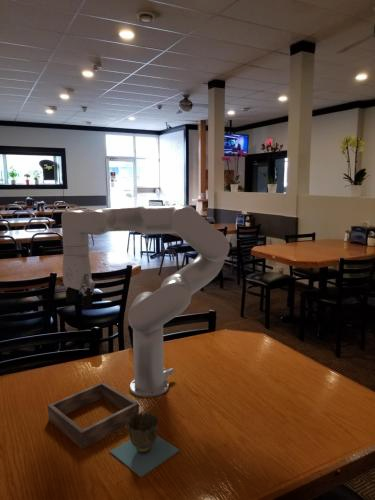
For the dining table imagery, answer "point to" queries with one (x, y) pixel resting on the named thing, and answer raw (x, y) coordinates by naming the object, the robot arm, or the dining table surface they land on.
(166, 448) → the light blue square plate
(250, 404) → the dining table surface
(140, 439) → the dark rounded piece
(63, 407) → the grey square frame
